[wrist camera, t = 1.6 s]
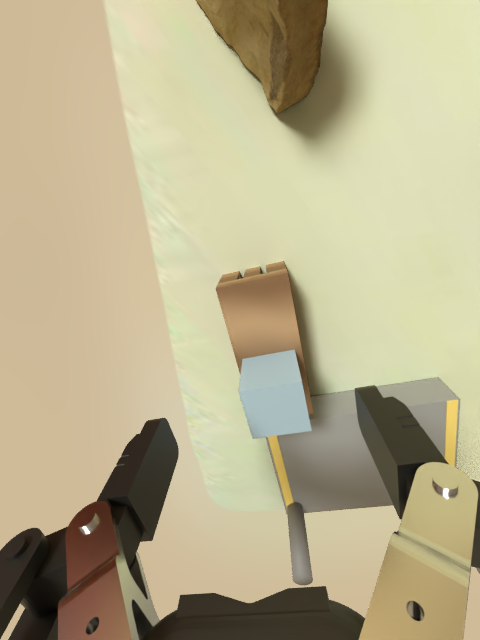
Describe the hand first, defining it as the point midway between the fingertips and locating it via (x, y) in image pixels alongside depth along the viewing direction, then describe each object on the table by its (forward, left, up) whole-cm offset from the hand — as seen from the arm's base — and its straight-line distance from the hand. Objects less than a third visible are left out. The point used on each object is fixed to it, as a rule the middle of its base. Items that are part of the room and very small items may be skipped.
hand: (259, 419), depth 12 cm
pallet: (0, +2, -13) cm, 14 cm away
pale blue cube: (0, +4, -9) cm, 10 cm away
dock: (-6, +16, -13) cm, 21 cm away
